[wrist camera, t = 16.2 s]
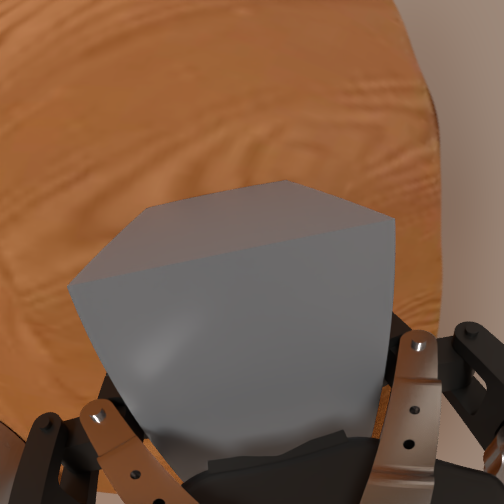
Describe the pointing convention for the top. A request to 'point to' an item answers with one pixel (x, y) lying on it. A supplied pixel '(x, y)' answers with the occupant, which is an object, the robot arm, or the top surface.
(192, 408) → the gray tapered block
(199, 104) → the top surface
